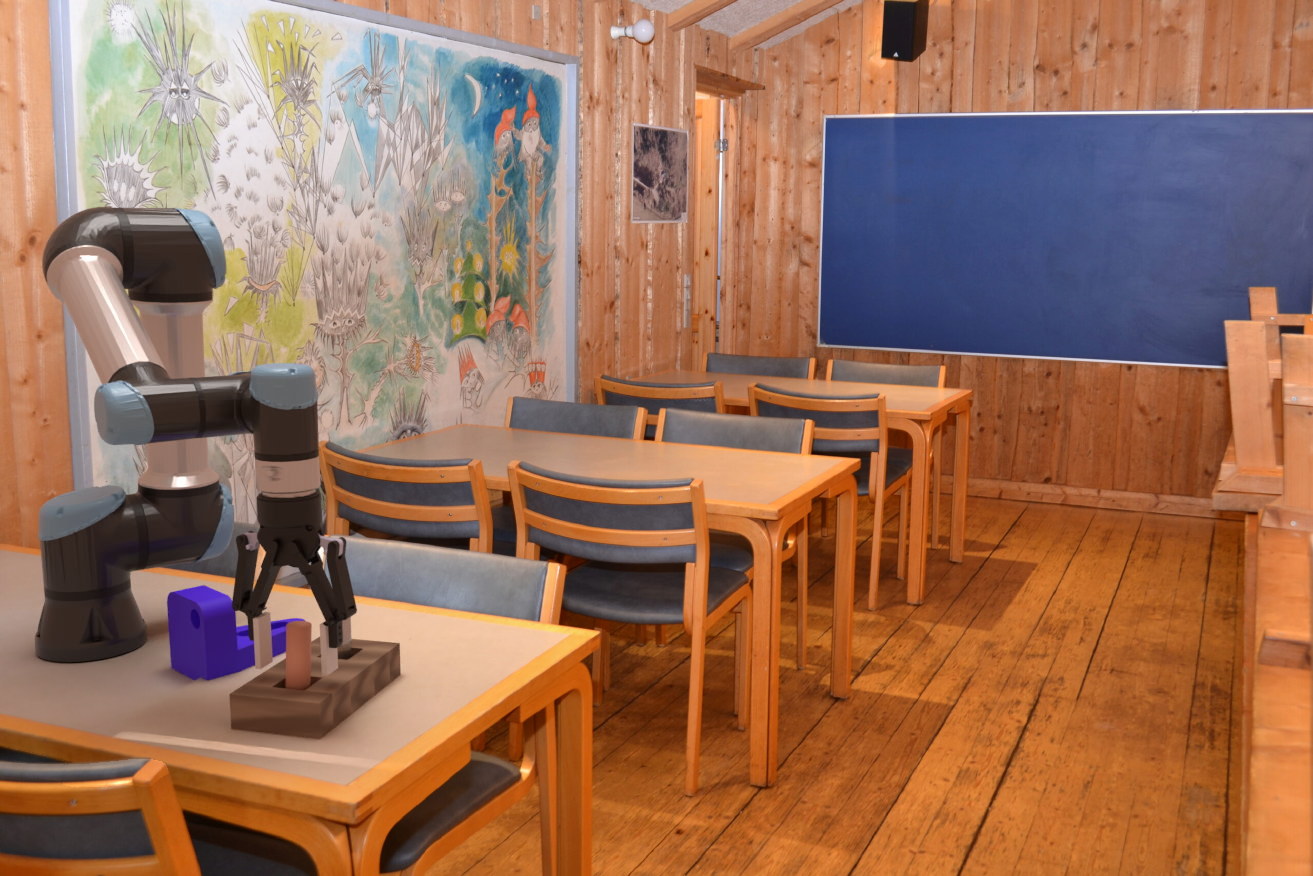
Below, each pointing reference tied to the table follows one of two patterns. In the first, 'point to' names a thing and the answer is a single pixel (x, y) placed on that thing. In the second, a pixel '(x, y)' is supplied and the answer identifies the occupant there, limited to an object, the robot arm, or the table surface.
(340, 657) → the grey peg
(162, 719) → the table surface
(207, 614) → the bracket
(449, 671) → the table surface
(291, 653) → the peg
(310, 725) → the hole block
